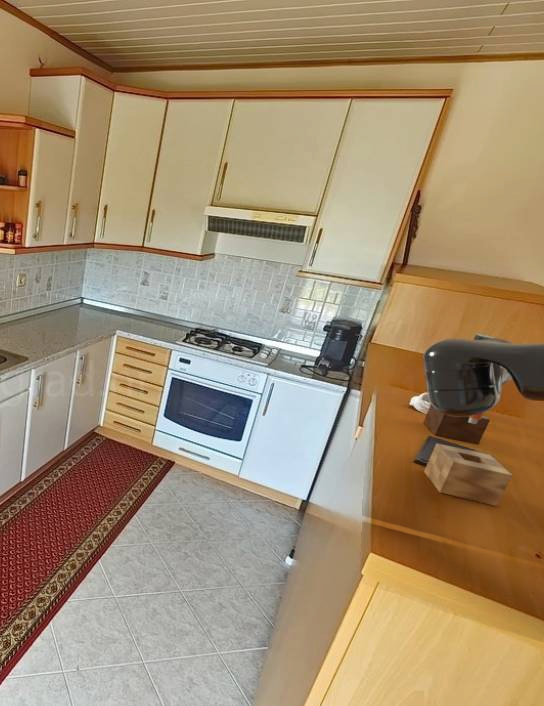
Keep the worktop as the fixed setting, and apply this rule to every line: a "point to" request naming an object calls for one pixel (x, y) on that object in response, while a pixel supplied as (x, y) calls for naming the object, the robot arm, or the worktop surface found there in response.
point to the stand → (467, 474)
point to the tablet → (429, 447)
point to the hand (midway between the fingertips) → (506, 353)
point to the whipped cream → (421, 403)
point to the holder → (455, 426)
